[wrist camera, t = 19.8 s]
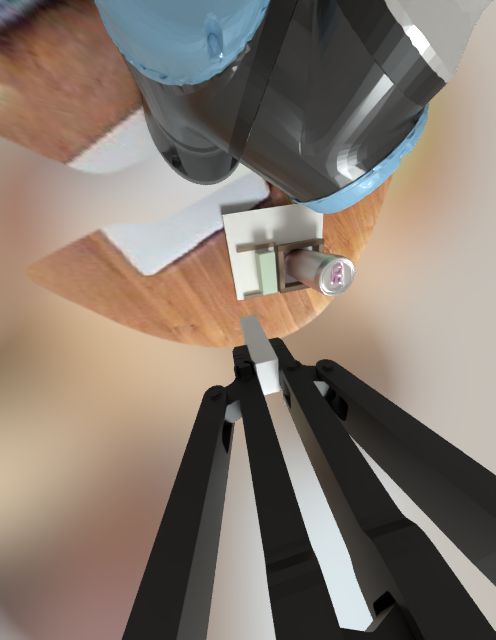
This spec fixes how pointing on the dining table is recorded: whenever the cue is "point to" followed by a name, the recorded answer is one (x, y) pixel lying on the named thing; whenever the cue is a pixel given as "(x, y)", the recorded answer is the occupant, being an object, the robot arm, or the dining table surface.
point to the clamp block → (266, 272)
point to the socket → (279, 260)
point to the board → (265, 240)
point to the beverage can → (320, 270)
